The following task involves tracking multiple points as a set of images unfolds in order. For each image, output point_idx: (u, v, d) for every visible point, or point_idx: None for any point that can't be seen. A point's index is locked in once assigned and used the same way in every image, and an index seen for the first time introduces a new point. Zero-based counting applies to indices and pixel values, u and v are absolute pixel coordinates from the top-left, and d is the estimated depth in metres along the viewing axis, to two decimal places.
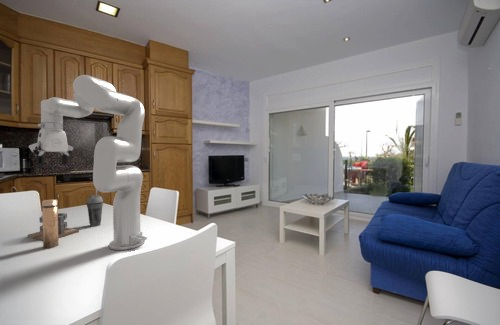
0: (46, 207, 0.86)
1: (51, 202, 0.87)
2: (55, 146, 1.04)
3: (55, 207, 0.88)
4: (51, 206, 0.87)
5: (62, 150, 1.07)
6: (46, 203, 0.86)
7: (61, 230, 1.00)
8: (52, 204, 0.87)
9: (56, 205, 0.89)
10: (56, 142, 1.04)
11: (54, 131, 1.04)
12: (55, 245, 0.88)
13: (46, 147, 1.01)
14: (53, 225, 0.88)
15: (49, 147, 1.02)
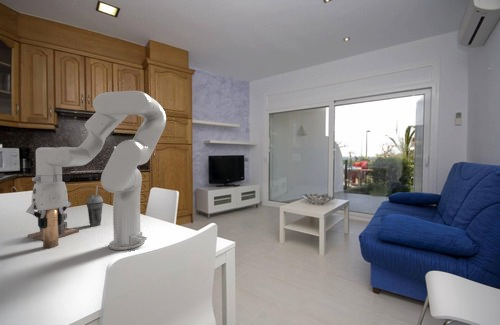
0: None
1: None
2: (53, 203, 0.87)
3: None
4: None
5: (61, 205, 0.90)
6: None
7: (61, 230, 1.00)
8: None
9: None
10: (54, 197, 0.87)
11: (52, 184, 0.87)
12: (55, 245, 0.88)
13: (42, 206, 0.84)
14: (53, 225, 0.88)
15: (46, 205, 0.85)
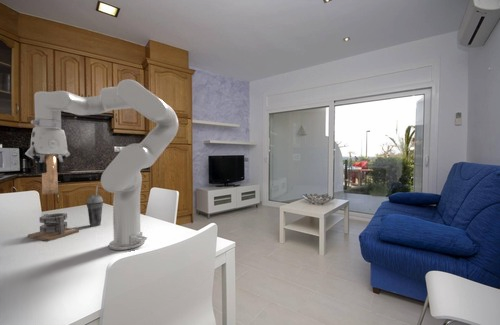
0: None
1: None
2: (52, 148, 0.86)
3: None
4: None
5: (60, 152, 0.89)
6: None
7: (61, 230, 1.00)
8: None
9: None
10: (53, 143, 0.87)
11: (51, 129, 0.86)
12: (54, 192, 0.88)
13: (41, 149, 0.83)
14: (52, 171, 0.87)
15: (45, 149, 0.84)
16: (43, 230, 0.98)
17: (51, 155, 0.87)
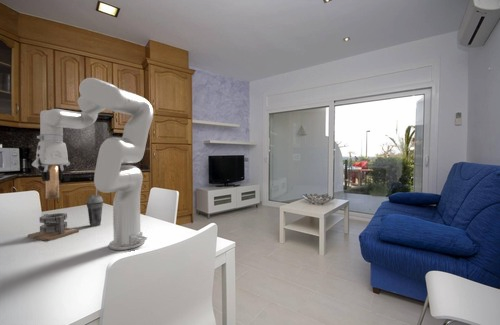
0: None
1: None
2: (54, 159, 1.00)
3: None
4: None
5: (62, 163, 1.03)
6: None
7: (61, 230, 1.00)
8: None
9: None
10: (55, 154, 1.00)
11: (54, 143, 0.99)
12: (56, 197, 1.01)
13: (45, 160, 0.97)
14: (55, 179, 1.01)
15: (48, 160, 0.98)
16: (43, 230, 0.98)
17: (54, 165, 1.00)
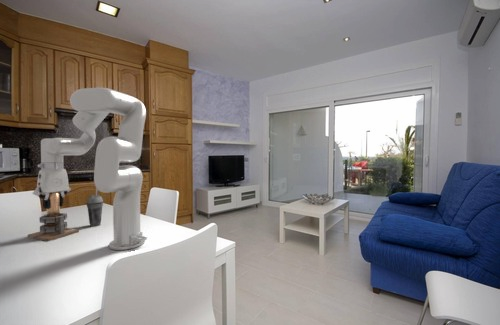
0: None
1: None
2: (55, 187, 1.00)
3: None
4: None
5: (63, 189, 1.03)
6: None
7: (61, 230, 1.00)
8: None
9: None
10: (56, 182, 1.00)
11: (54, 171, 1.00)
12: (57, 224, 1.02)
13: (46, 189, 0.97)
14: (55, 206, 1.01)
15: (49, 188, 0.98)
16: (43, 230, 0.98)
17: (54, 192, 1.00)
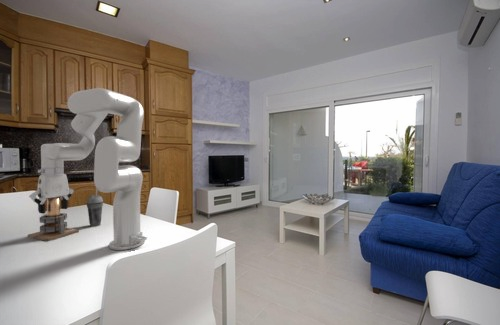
0: (50, 198, 1.00)
1: None
2: (55, 192, 1.00)
3: (58, 198, 1.02)
4: None
5: (63, 194, 1.03)
6: None
7: (61, 230, 1.00)
8: None
9: None
10: (56, 187, 1.00)
11: (55, 176, 1.00)
12: (57, 231, 1.02)
13: (46, 194, 0.97)
14: (56, 214, 1.01)
15: (49, 193, 0.98)
16: (43, 230, 0.98)
17: (55, 200, 1.01)
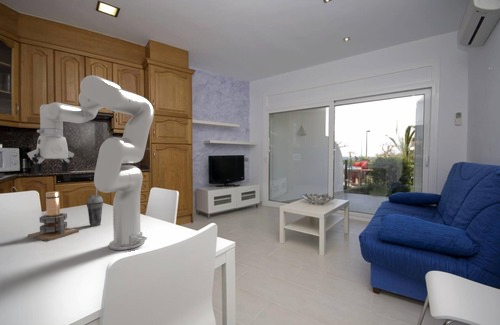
0: (49, 198, 0.99)
1: (53, 193, 1.00)
2: (55, 153, 1.00)
3: (57, 198, 1.01)
4: (53, 197, 1.00)
5: (62, 157, 1.02)
6: (49, 194, 0.99)
7: (61, 230, 1.00)
8: (54, 195, 1.00)
9: (58, 196, 1.02)
10: (56, 149, 1.00)
11: (54, 137, 0.99)
12: (57, 231, 1.02)
13: (45, 154, 0.96)
14: (56, 214, 1.01)
15: (49, 154, 0.97)
16: (43, 230, 0.98)
17: (54, 200, 1.00)
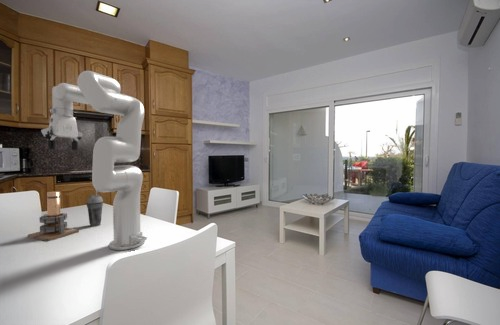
0: (50, 198, 1.00)
1: (55, 193, 1.00)
2: (66, 132, 1.07)
3: (58, 198, 1.02)
4: (55, 197, 1.00)
5: (72, 136, 1.10)
6: (50, 194, 1.00)
7: (61, 230, 1.00)
8: (55, 195, 1.01)
9: (59, 196, 1.02)
10: (66, 127, 1.07)
11: (65, 116, 1.07)
12: (57, 231, 1.02)
13: (57, 132, 1.04)
14: (56, 214, 1.01)
15: (60, 132, 1.05)
16: (43, 230, 0.98)
17: (55, 200, 1.01)
